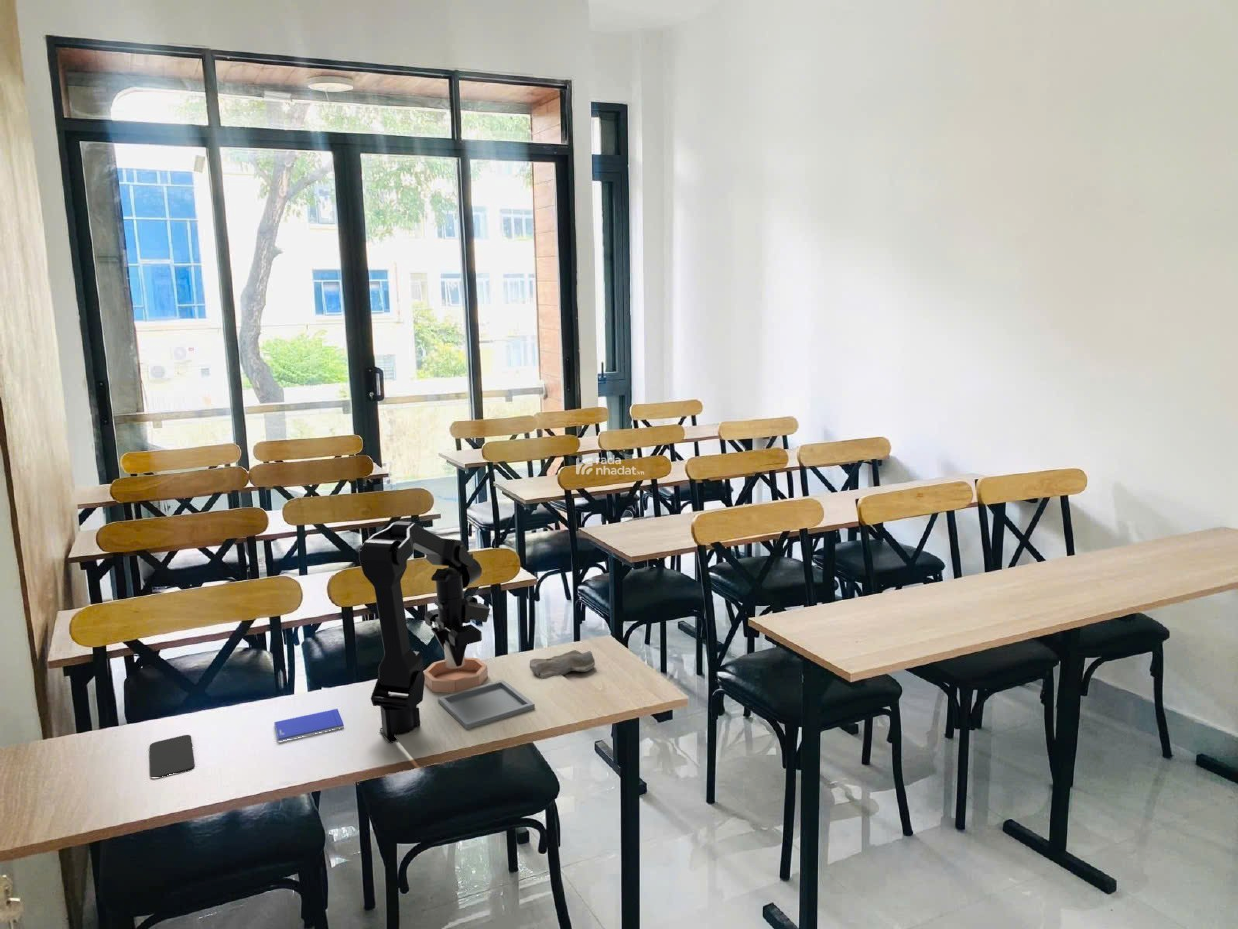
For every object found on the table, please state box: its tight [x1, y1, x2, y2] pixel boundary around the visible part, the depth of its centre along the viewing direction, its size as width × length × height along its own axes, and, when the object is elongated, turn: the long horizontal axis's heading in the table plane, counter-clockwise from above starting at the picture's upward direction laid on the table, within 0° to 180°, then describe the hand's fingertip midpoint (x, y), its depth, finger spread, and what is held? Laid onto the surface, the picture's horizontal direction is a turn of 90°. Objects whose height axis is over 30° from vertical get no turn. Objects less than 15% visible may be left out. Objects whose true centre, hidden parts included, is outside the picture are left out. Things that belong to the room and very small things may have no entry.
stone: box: [529, 649, 596, 679], centre depth 199 cm, size 15×10×4 cm, turn 113°
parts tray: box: [437, 679, 536, 730], centre depth 181 cm, size 15×15×2 cm
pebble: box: [443, 642, 466, 669], centre depth 193 cm, size 4×4×5 cm
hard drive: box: [273, 708, 345, 742], centre depth 176 cm, size 2×8×12 cm
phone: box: [148, 734, 196, 778], centre depth 166 cm, size 7×1×15 cm
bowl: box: [423, 656, 489, 694], centre depth 194 cm, size 13×13×4 cm
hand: (454, 662), depth 194 cm, fingers closed on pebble, 4 cm apart
